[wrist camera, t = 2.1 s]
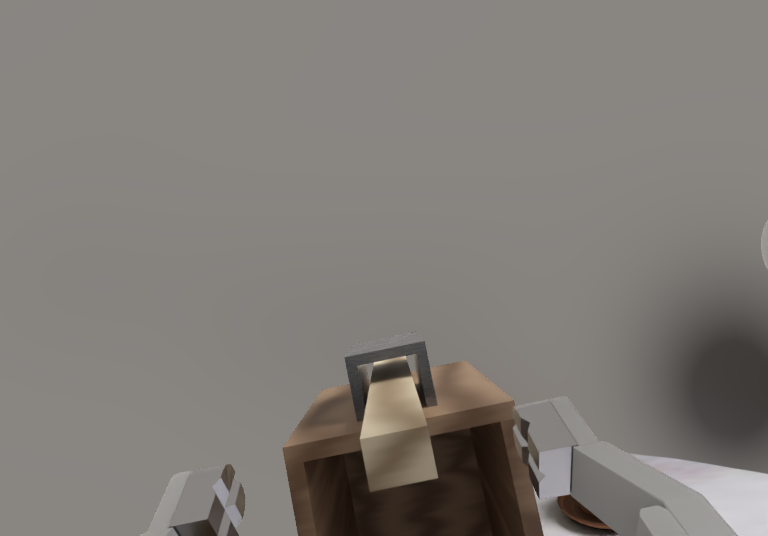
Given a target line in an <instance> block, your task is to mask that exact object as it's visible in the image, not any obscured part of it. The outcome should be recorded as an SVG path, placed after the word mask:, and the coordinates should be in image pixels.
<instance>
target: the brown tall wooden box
mask: <svg viewBox="0 0 768 536" xmlns="http://www.w3.org/2000/svg"><path fill="white" fill-rule="evenodd" d="M430 370H431V375H432V380H433V385H434V389H435V394H436V399H437V404H438V405H437V406H432V407H428V408H427V406H426V403H425V400H424V397H423V395H422V392H421V389H420V386H419V384H418V379H417V374H416V371H412V372H411V375H412V378H413V381H414V384H415V388H416V391H417V394H418V397H419V400H420V403H421V407H422V410H423V413H424V416H425V419H426V422H427V426H428V430H429V435H430V440H431V445H432V450H433V455H434V460H435V465H436V470H437V474H438V478H436V479H431V480H426V481H421V482H417V483H412V484H407V485H402V486H397V487H392V488H387V489H383V490H378V491H373V492H370V490H369V485H368V479H367V474H366V469H365V464H364V459H363V453H362V448H361V443H360V436H361V430H362V425H363V421H359V422H357V419H356V414H355V409H354V404H353V398H352V393H351V388H350V384H348V385H344V386H338V387H334V388H329V389H324V390H322V391H321V392H320V394H319V395H318V397H317V398H316V400H315V401H314V403H313V404H312V405H311V407H310V409H309V410H308V411H307V413H306V414H305V416H304V417H303V419H302V420H301V422H300V423H299V424H298V426H297V428H296V429H295V430H294V432H293V433H292V435H291V436H290V438H289V439H288V441H287V442H286V443H285V445H284V447H283V453H284V459H285V464H286V470H287V476H288V481H289V487H290V492H291V498H292V504H293V509H294V515H295V520H296V526H297V532H298V536H544V535H543V531H542V526H541V522H540V517H539V513H538V508H537V504H536V499H535V495H534V490H533V485H532V482H531V480H530V478H529V467H528V466H527V465H525V464H524V463H522V461H521V459H520V456H519V454H518V451H517V449H516V446H515V441H514V437H513V427H514V426H515V422H514V419H513V417H512V408H513V407H514V406H515V404H514V400H513V399H511V398H510V397H509V396H508V395H507V394H505V393H504V392H503V391H502V390H501V389H499V388H498V387H497V386H496V385H494V384H493V383H492V382H491V381H490V380H488V379H487V378H486V377H485V376H483V375H482V374H481V373H480V372H479V371H477V370H476V369H475V368H474V367H472V366H471V365H470V364H469V363H467V362H466V361H462V362H456V363H452V364H446V365H441V366H437V367H432V368H430ZM369 382H371V380H369Z"/></svg>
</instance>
